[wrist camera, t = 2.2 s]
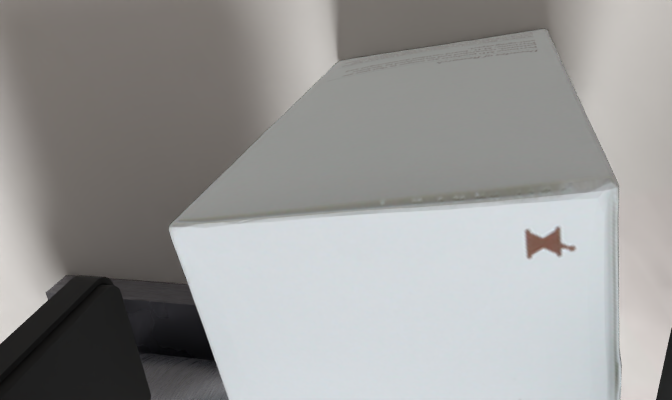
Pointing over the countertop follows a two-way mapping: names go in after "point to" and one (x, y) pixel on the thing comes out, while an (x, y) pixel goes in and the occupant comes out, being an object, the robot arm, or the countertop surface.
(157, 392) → the tray on grey cylinder
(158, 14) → the countertop surface
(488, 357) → the supplement box
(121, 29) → the countertop surface
